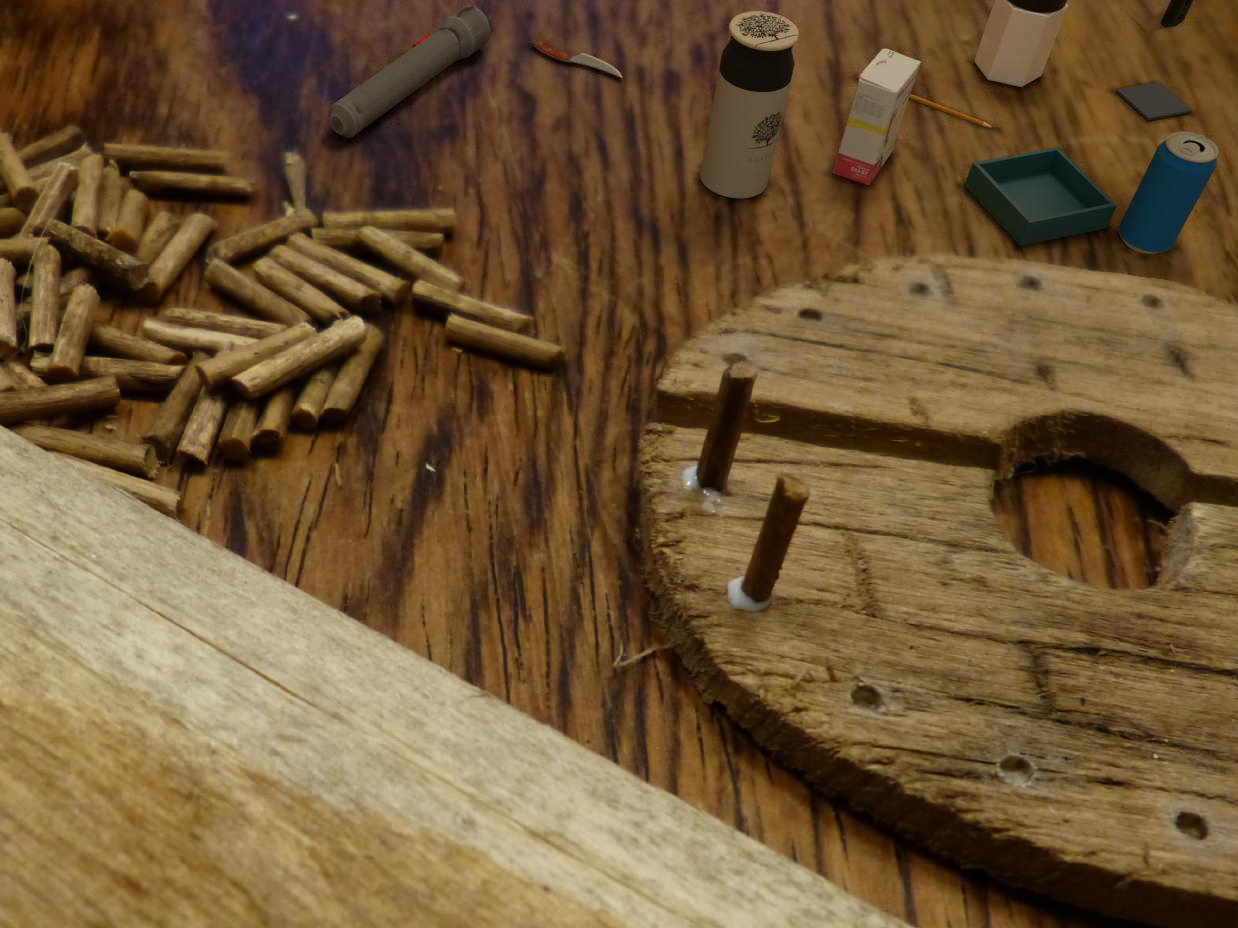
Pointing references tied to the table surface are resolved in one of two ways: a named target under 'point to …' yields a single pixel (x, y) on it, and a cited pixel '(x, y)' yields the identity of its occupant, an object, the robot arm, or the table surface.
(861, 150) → the ink box
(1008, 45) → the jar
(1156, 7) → the beech block
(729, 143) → the travel mug
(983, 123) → the pencil
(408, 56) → the flashlight
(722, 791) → the table surface
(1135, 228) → the beverage can
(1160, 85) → the mat
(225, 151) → the table surface
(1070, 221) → the tray
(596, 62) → the knife
